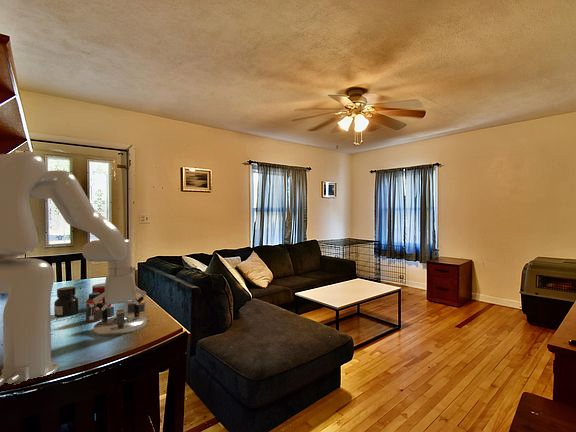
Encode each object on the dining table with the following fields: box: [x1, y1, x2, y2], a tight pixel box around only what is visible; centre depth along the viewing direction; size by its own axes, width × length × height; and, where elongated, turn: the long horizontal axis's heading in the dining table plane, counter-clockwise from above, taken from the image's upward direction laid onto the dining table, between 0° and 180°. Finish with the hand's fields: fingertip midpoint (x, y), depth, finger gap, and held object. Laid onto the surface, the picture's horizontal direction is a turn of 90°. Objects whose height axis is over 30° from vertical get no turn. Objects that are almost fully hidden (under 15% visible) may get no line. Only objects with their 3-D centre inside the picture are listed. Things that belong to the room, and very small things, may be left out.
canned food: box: [91, 282, 112, 307], centre depth 144 cm, size 8×8×11 cm
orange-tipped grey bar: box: [95, 306, 115, 323], centre depth 115 cm, size 6×2×6 cm, turn 89°
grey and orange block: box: [127, 300, 146, 317], centre depth 120 cm, size 6×2×6 cm, turn 104°
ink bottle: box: [53, 286, 80, 318], centre depth 133 cm, size 10×9×12 cm
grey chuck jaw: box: [116, 308, 125, 327], centre depth 109 cm, size 6×2×6 cm, turn 29°
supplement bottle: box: [85, 292, 103, 323], centre depth 124 cm, size 6×6×11 cm
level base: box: [93, 314, 147, 337], centre depth 114 cm, size 18×18×4 cm
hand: (121, 317), depth 109 cm, fingers open, 9 cm apart
